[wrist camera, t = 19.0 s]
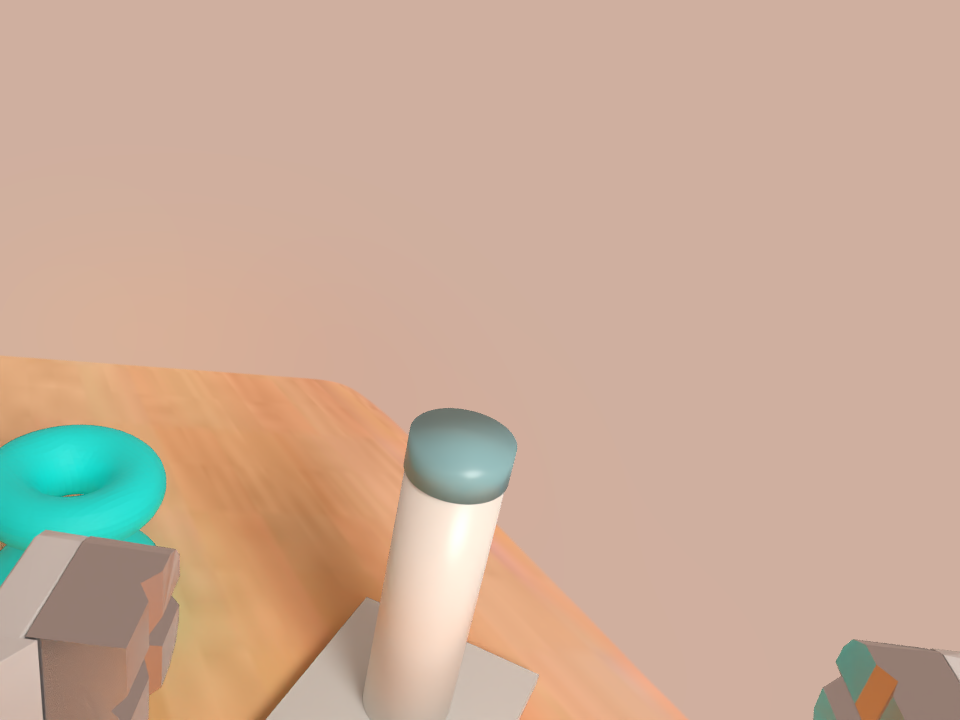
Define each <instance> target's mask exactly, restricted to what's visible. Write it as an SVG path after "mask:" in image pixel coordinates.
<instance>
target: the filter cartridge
mask: <svg viewBox="0 0 960 720" xmlns="http://www.w3.org/2000/svg"><path fill="white" fill-rule="evenodd" d="M516 452H517V442H516V440H515V438H514V436H513V434H512V433H511V432H510V431H509V430H508V429H507V428H506V427H505V426H504V425H502V424H500V423H499V422H498V421H496V420H494V419H492V418H490V417H488V416H486V415H483V414H480V413H477V412H474V411H469V410H464V409H454V408H443V409H435V410H431V411H428V412H425V413H423V414H421V415H419V416H418V417H417V418H416V419H415V420H414V421H413V422H412V424H411V427H410V432H409V437H408V443H407V448H406V454H405V459H404V476H403V481H402V487H401V492H400V497H399V503H398V508H397V514H396V519H395V524H394V530H393V535H392V541H391V546H390V551H389V557H388V562H387V568H386V573H385V578H384V584H383V589H382V595H381V600H380V605H379V611H378V616H377V621H376V627H375V632H374V638H373V643H372V648H371V654H370V659H369V665H368V670H367V675H366V681H365V686H364V692H363V705H364V709H365V711H366V713H367V715H368V716H369V718H370V719H371V720H446V718H447V716H448V713H449V710H450V706H451V702H452V698H453V694H454V690H455V686H456V682H457V678H458V674H459V670H460V666H461V662H462V658H463V654H464V650H465V646H466V642H467V638H468V634H469V630H470V626H471V622H472V618H473V614H474V610H475V606H476V602H477V598H478V594H479V590H480V586H481V582H482V578H483V574H484V570H485V567H486V563H487V559H488V555H489V551H490V547H491V543H492V539H493V535H494V531H495V527H496V523H497V518H498V515H499V510H500V507H501V503H502V499H503V495H504V492H505V490H506V489H507V487H508V483H509V479H510V475H511V471H512V467H513V463H514V460H515V456H516Z"/></svg>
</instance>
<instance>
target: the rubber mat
mask: <svg viewBox="0 0 960 720" xmlns="http://www.w3.org/2000/svg"><path fill="white" fill-rule="evenodd" d="M379 605H380V603H379V602H377V601H375V600H373V599H370V598H368V597H366V598H365V600H364V601H363V602H362V603H361V604H360V606H359V607H358V608H357V609H356V611H355V612H354V613H353V614H352V615H351V617H350V618H349V619H348V620H347V621H346V623H345V624H344V625H343V626H342V628H341V629H340V630H339V631H338V632H337V634H336V635H335V636H334V637H333V638H332V640H331V641H330V642H329V643H328V644H327V646H326V647H325V648H324V649H323V651H322V652H321V653H320V654H319V655H318V657H317V658H316V659H315V660H314V661H313V663H312V664H311V665H310V666H309V668H308V669H307V670H306V671H305V672H304V674H303V675H302V676H301V677H300V678H299V680H298V681H297V682H296V683H295V685H294V686H293V687H292V688H291V689H290V691H289V692H288V693H287V694H286V695H285V697H284V698H283V699H282V700H281V702H280V703H279V704H278V705H277V706H276V708H275V709H274V710H273V711H272V712H271V714H270V715H269V716H268V717H267V719H266V720H371V719H370V718H369V716H368V715H367V713H366V711H365V709H364V705H363V692H364V686H365V681H366V675H367V670H368V665H369V659H370V654H371V648H372V643H373V638H374V632H375V627H376V621H377V616H378V611H379ZM538 676H539V674H536V673H534V672H532V671H530V670H527V669H525V668H523V667H521V666H519V665H516V664H514V663H512V662H510V661H508V660H505V659H503V658H501V657H499V656H496V655H494V654H492V653H490V652H488V651H485V650H483V649H481V648H479V647H477V646H474V645H472V644H470V643H468V642H466V646H465V650H464V654H463V658H462V662H461V666H460V670H459V674H458V678H457V682H456V686H455V690H454V694H453V698H452V702H451V706H450V710H449V713H448V716H447V718H446V720H519V719H520V717H521V714H522V712H523V710H524V708H525V706H526V704H527V702H528V700H529V698H530V696H531V694H532V692H533V690H534V688H535V686H536V683H537V680H538Z"/></svg>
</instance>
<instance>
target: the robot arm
mask: <svg viewBox="0 0 960 720" xmlns="http://www.w3.org/2000/svg"><path fill="white" fill-rule="evenodd" d="M179 577H180V554H179V553H178V551H177V550H176V549H171V548H165V547H158V546H152V545H146V544H139V543H133V542H126V541H120V540H114V539H107V538H101V537H94V536H90V537H87V536H82V535H76V534H69V533H63V532H57V531H51V530H45V531H43V532H42V533H40V534H39V535H37V536H36V537H34V539H33V540H32V541H31V543H30V544H29V546H28V547H27V549H26V550H25V552H24V553H23V554H22V556H21V557H20V559H19V560H18V562H17V563H16V565H15V566H14V567H13V569H12V570H11V572H10V573H9V575H8V576H7V578H6V579H5V580H4V582H3V583H2V585H1V586H0V720H148V712H149V695H150V694H152V693H153V692H155V691H156V690H158V689H159V688H160V687H161V686H162V684H163V681H164V679H165V676H166V673H167V671H168V668H169V665H170V661H171V657H172V653H173V650H174V646H175V642H176V636H177V628H178V620H179V604H178V603H177V602H176V601H175V599H174V598H173V597H172V596H171V595H172V593H173V591H174V588H175V586H176V584H177V581H178V579H179ZM836 664H837V666H838V669H839V671H840V674H841V677H839V678H837V679H836V680H834V681H833V682H831V683H829V684H828V685H826V686H825V687H823V689H822V691H821V693H820V695H819V698H818V700H817V703H816V705H815V707H814V718H813V720H960V652H958V651H949V650H940V649H925V648H919V647H911V646H903V645H895V644H887V643H878V642H871V641H863V640H862V641H861V640H855V639H853V640H851V641H850V642H849V643H848V644H847V645H845V646H844V647H843V649H842V651H841V653H840V655H839V657H838V658H837V660H836Z"/></svg>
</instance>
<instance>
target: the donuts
mask: <svg viewBox="0 0 960 720" xmlns="http://www.w3.org/2000/svg"><path fill="white" fill-rule="evenodd" d="M165 491H166V473H165V470H164V467H163V464H162V462H161V460H160V458H159V457H158V455H157V454H156V453H155V452H154V450H153V449H152V448H151V447H150V446H148V445H147V444H146V443H144V442H143V441H141V440H140V439H138V438H136V437H134V436H133V435H131V434H128V433H125V432H123V431H120V430H116V429H113V428H108V427H102V426H94V425H66V426H57V427H51V428H46V429H42V430H38V431H34V432H31V433H28V434H25V435H23V436H20V437H18V438H16V439H14V440H12V441H10V442H8V443H7V444H5V445H4V446H2V447H1V448H0V541H1V542H3V543H5V544H7V545H6V546H5V547H4V548H3V549H2V550H1V551H0V586H1V585H2V583H3V582H4V580H5V579H6V578H7V576H8V575H9V573H10V572H11V570H12V569H13V567H14V566H15V565H16V563H17V562H18V560H19V559H20V557H21V556H22V554H23V553H24V552H25V550H26V549H27V547H28V546H29V544H30V543H31V541H32V540H33V539H34V537H36V536H37V535H39V534H40V533H42V532H43V531H45V530H51V531H57V532H63V533H69V534H76V535H82V536H87V537H90V536H94V537H101V538H107V539H114V540H120V541H126V542H133V543H139V544H146V545H152V546H156V545H155V544H154V543H153V541H152V540H151V539H150V538H149V537H148V536H147V535H145V534H144V533H143V532H141V531H140V529H141V528H142V527H143V526H144V525H145V524H147V523H148V522H149V521H150V520H151V518H152V517H153V516H154V515H155V513H156V512H157V510H158V509H159V507H160V505H161V503H162V501H163V498H164V494H165ZM70 494H84V495H80V496H71V497H62V496H65V495H70Z"/></svg>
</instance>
